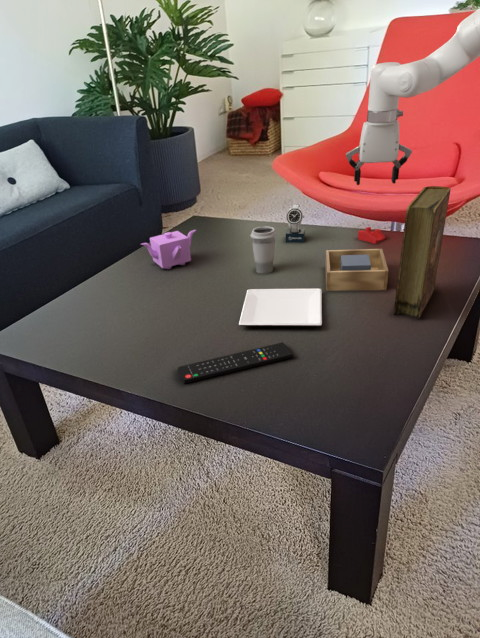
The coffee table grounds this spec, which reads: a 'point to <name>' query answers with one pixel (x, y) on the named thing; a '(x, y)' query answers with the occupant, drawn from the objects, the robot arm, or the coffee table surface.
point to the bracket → (371, 235)
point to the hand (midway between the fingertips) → (375, 183)
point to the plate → (282, 307)
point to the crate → (359, 278)
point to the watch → (295, 225)
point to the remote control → (233, 362)
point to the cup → (263, 248)
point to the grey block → (355, 262)
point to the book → (421, 250)
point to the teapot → (170, 249)
